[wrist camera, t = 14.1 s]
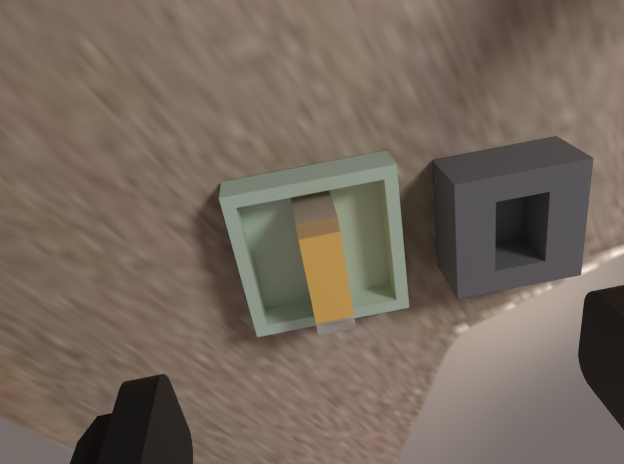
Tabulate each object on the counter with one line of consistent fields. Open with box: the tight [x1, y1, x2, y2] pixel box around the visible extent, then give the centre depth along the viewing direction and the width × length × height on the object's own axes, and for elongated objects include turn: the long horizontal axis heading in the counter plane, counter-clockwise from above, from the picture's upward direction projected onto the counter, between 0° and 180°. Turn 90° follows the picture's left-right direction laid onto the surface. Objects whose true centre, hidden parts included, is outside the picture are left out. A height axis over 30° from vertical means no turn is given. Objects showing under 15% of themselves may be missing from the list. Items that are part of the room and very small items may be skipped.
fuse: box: [291, 190, 356, 336], centre depth 41 cm, size 3×5×10 cm
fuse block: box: [433, 136, 593, 299], centre depth 41 cm, size 10×10×5 cm
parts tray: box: [219, 151, 409, 337], centre depth 42 cm, size 13×13×3 cm
